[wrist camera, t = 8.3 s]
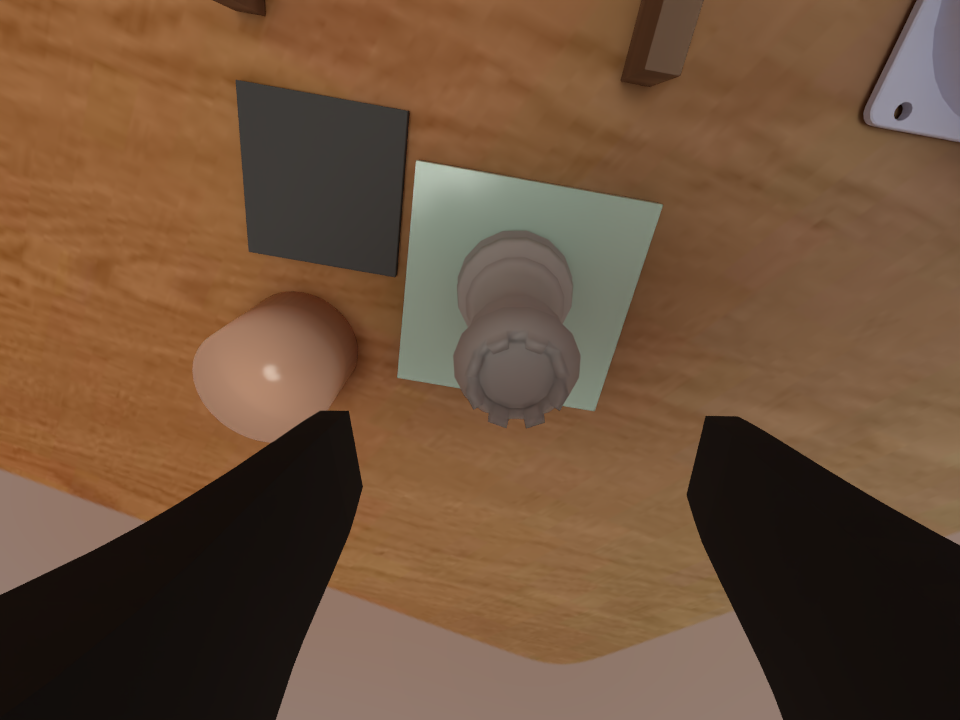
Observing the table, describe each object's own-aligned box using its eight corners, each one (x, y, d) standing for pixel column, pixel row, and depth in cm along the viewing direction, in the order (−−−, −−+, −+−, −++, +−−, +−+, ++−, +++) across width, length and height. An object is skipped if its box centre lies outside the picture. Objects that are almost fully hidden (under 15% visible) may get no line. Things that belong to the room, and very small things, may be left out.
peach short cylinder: (359, 301, 19) (325, 339, 16) (356, 399, 21) (326, 451, 18) (244, 282, 19) (183, 316, 16) (253, 382, 21) (201, 431, 18)
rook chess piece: (528, 355, 19) (538, 486, 12) (437, 300, 18) (391, 405, 11) (594, 268, 17) (654, 362, 10) (497, 203, 16) (488, 255, 9)
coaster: (658, 202, 17) (663, 204, 16) (592, 404, 21) (594, 411, 20) (419, 159, 16) (416, 160, 16) (400, 371, 20) (397, 377, 20)
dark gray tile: (409, 111, 16) (407, 110, 15) (396, 274, 18) (395, 277, 18) (240, 80, 16) (235, 79, 15) (252, 249, 18) (248, 251, 18)
